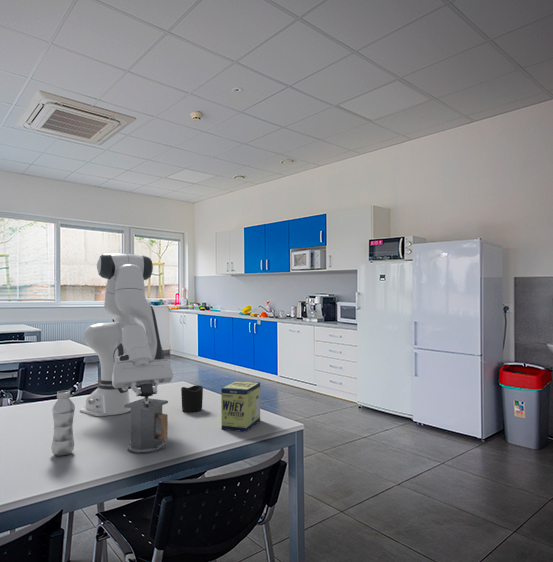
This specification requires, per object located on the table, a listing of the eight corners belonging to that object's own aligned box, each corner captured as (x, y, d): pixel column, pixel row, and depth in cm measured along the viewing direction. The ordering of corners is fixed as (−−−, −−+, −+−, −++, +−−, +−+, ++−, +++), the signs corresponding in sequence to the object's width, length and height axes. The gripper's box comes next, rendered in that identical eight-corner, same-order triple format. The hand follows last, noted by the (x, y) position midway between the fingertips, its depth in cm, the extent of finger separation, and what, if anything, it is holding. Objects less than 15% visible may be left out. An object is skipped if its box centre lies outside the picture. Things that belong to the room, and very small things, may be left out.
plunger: (129, 442, 142) (129, 386, 143) (145, 435, 149) (145, 381, 150) (147, 445, 139) (147, 388, 140) (162, 438, 146) (162, 383, 147)
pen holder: (185, 407, 195) (185, 385, 195) (205, 408, 193) (205, 385, 193) (177, 412, 185) (177, 389, 186) (198, 413, 184) (198, 390, 184)
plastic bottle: (56, 451, 141) (56, 389, 142) (77, 450, 142) (78, 389, 142) (47, 458, 134) (48, 394, 135) (69, 457, 135) (70, 393, 136)
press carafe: (119, 450, 141) (119, 405, 141) (144, 439, 152) (144, 397, 152) (153, 456, 135) (153, 409, 136) (176, 444, 146) (176, 400, 147)
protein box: (220, 429, 162) (220, 388, 163) (237, 418, 177) (237, 380, 178) (246, 432, 159) (246, 390, 160) (260, 420, 174) (260, 381, 174)
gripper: (166, 364, 160) (175, 395, 151) (108, 369, 149) (114, 403, 141) (170, 353, 156) (179, 385, 148) (111, 358, 146) (117, 392, 137)
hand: (147, 394), depth 144 cm, fingers closed on plunger, 4 cm apart
